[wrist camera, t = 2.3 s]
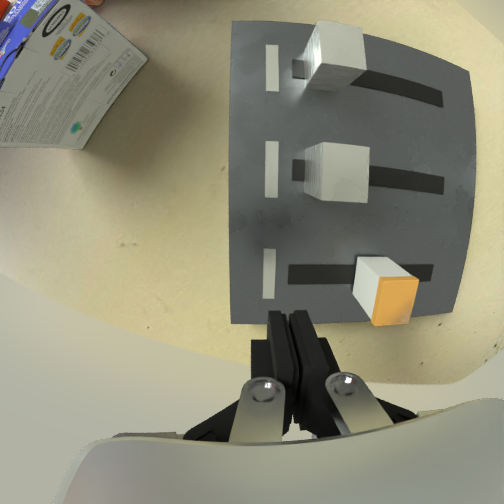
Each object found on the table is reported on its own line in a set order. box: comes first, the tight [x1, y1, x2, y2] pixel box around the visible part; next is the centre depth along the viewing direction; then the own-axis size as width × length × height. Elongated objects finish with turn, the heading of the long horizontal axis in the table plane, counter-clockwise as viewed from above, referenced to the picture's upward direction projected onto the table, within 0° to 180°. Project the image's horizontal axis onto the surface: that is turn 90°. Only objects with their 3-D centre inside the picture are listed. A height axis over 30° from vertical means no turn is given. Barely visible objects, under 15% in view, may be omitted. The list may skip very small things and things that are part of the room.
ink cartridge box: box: [0, 0, 148, 150], centre depth 11 cm, size 10×6×14 cm, turn 139°
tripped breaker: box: [352, 257, 419, 326], centre depth 16 cm, size 2×3×4 cm
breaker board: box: [229, 20, 476, 324], centre depth 16 cm, size 20×22×8 cm
